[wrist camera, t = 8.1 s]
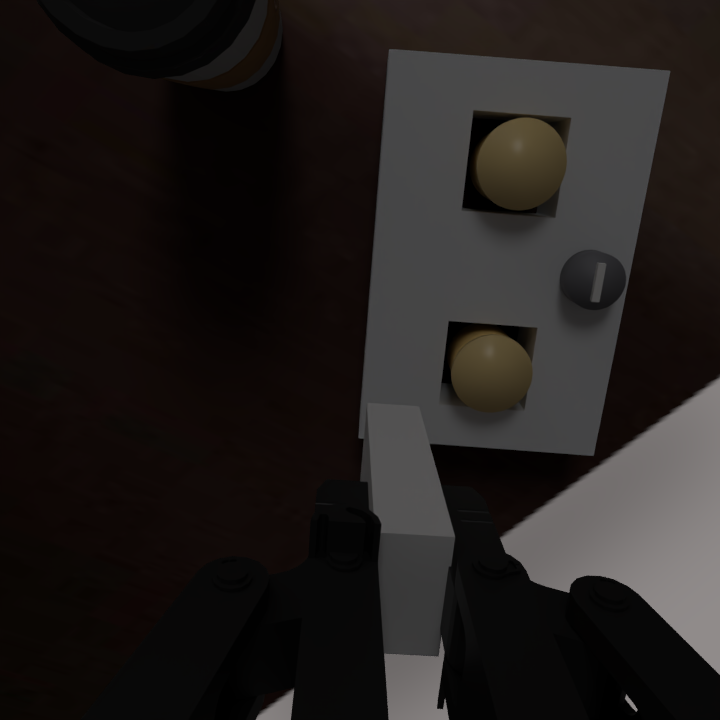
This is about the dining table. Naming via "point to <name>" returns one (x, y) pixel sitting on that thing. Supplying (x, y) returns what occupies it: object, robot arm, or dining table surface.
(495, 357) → the knob
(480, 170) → the knob
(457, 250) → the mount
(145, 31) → the coffee cup
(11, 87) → the dining table surface
